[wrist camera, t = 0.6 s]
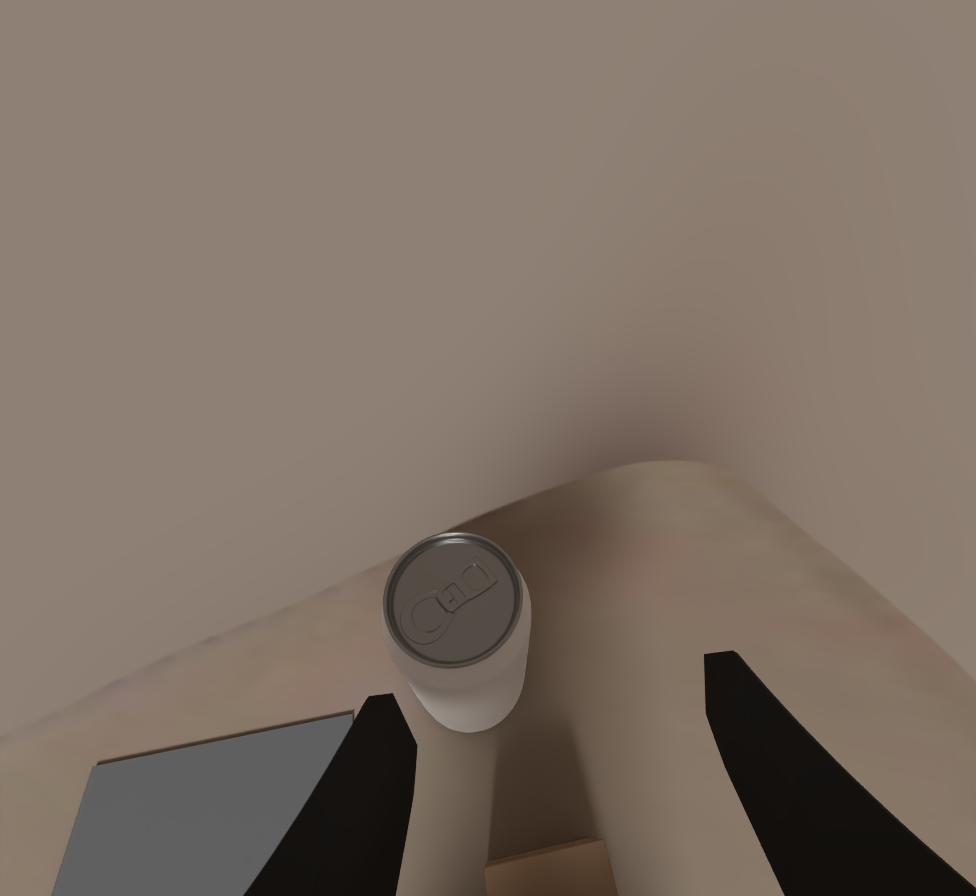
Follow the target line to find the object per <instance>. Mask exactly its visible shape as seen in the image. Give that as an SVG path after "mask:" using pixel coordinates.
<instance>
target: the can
mask: <svg viewBox="0 0 976 896" xmlns="http://www.w3.org/2000/svg"><path fill="white" fill-rule="evenodd" d="M381 623H382V632H383V636H384V640H385V644H386V647H387V649H388V651H389V653H390V655H391V657H392V659H393V661H394V663H395V664H396V666H397V667H398V669H399V671H400V672H401V674H402V675H403V677H404V678H405V680H406V681H407V683H408V684H409V685H410V687H411V688H412V690H413V691H414V693H415V694H416V696H417V697H418V699H419V700H420V701H421V703H422V704H423V706H424V707H425V708H426V710H427V711H428V712H429V713H430V714H431V715H432V716H433V717H434V718H435V719H436V720H437V721H438V722H439V723H441V724H442V725H444V726H445V727H447V728H449V729H452V730H455V731H458V732H466V733H472V732H479V731H483V730H486V729H489V728H491V727H493V726H495V725H496V724H498V723H499V722H501V721H502V720H503V719H504V718H505V717H506V716H507V715H508V714H509V713H510V712H511V711H512V709H513V708H514V706H515V705H516V703H517V701H518V699H519V697H520V694H521V691H522V688H523V683H524V678H525V671H526V663H527V655H528V647H529V638H530V629H531V602H530V596H529V592H528V588H527V585H526V583H525V581H524V579H523V577H522V575H521V573H520V572H519V570H518V569H517V567H516V565H515V563H514V562H513V560H512V559H511V557H510V556H509V555H508V554H507V553H506V551H505V550H504V549H502V548H501V547H500V546H499V545H498V544H496V543H495V542H493V541H492V540H490V539H488V538H486V537H484V536H481V535H478V534H475V533H470V532H462V531H453V532H445V533H440V534H436V535H433V536H431V537H428V538H426V539H424V540H422V541H420V542H419V543H417V544H416V545H414V546H413V547H411V548H410V549H409V550H408V551H407V552H406V553H405V554H404V555H403V556H402V557H401V558H400V559H399V560H398V562H397V563H396V564H395V566H394V568H393V569H392V571H391V573H390V575H389V577H388V580H387V583H386V586H385V590H384V596H383V606H382V615H381Z"/></svg>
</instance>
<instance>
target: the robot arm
mask: <svg viewBox="0 0 976 896" xmlns="http://www.w3.org/2000/svg"><path fill="white" fill-rule="evenodd" d="M704 670H705V702H706V716H707V718H708V721H709V724H710V727H711V730H712V733H713V735H714V738H715V741H716V744H717V747H718V749H719V752H720V755H721V757H722V760H723V763H724V766H725V768H726V770H727V772H728V775H729V777H730V779H731V781H732V783H733V786H734V788H735V790H736V792H737V794H738V796H739V799H740V801H741V803H742V805H743V807H744V809H745V812H746V814H747V816H748V818H749V820H750V822H751V824H752V827H753V829H754V831H755V833H756V835H757V837H758V839H759V842H760V844H761V846H762V848H763V850H764V852H765V854H766V857H767V859H768V861H769V863H770V865H771V867H772V870H773V872H774V874H775V876H776V878H777V880H778V882H779V885H780V887H781V889H782V891H783V893H784V895H785V896H976V888H975V887H974V886H973V885H972V884H971V883H969V882H968V881H967V880H966V879H965V878H964V877H962V876H961V875H960V874H959V873H958V872H957V871H955V870H954V869H953V868H952V867H951V866H950V865H949V864H947V863H946V862H945V861H944V860H943V859H942V858H940V857H939V856H938V855H937V854H936V853H935V852H934V851H932V850H931V849H930V848H929V847H928V846H927V845H926V844H924V843H923V842H922V841H921V840H920V839H919V838H918V837H917V836H916V835H914V834H913V833H912V832H911V831H910V830H909V829H908V828H907V827H906V826H904V825H903V824H902V823H901V822H900V821H899V820H898V819H897V818H896V817H895V816H894V815H892V814H891V813H890V812H889V811H888V810H887V809H886V808H885V807H884V806H883V805H882V804H881V803H880V802H879V801H878V800H876V799H875V798H874V797H873V796H872V795H871V794H870V793H869V792H868V791H867V790H866V789H865V788H864V787H863V786H862V785H861V784H860V783H859V782H858V781H856V780H855V779H854V778H853V777H852V776H851V775H850V774H849V773H848V772H847V771H846V770H845V769H844V768H843V767H842V766H841V765H840V764H839V763H838V762H837V761H836V760H835V759H834V758H833V757H832V756H831V755H830V754H829V753H828V752H827V751H826V750H825V749H824V748H823V747H822V746H821V745H820V744H819V743H818V742H817V741H816V739H815V738H814V737H813V736H812V735H811V734H810V733H809V732H808V731H807V730H806V729H805V728H804V727H803V726H802V725H801V724H800V723H799V722H798V721H797V720H796V719H795V718H794V717H793V716H792V714H791V713H790V712H789V711H788V710H787V709H786V708H785V707H784V706H783V705H782V704H781V703H780V701H779V700H778V699H777V698H776V697H775V696H774V695H773V694H772V693H771V692H770V690H769V689H768V688H767V687H766V686H765V685H764V684H763V682H762V681H761V680H760V679H759V678H758V677H757V676H756V674H755V673H754V672H753V671H752V670H751V669H750V667H749V666H748V665H747V664H746V663H745V661H744V660H743V659H742V658H741V657H740V655H739V654H738V653H736V652H735V651H725V652H717V653H709V654H704ZM416 759H417V743H416V741H415V739H414V737H413V735H412V733H411V731H410V729H409V727H408V724H407V722H406V720H405V718H404V716H403V714H402V712H401V710H400V707H399V705H398V703H397V701H396V699H395V697H394V695H393V693H391V694H383V695H375V696H369V697H368V698H367V699H366V701H365V703H364V704H363V706H362V708H361V710H360V711H359V713H358V715H357V717H356V718H355V720H354V722H353V724H352V725H351V727H350V729H349V731H348V732H347V734H346V736H345V738H344V739H343V741H342V743H341V745H340V746H339V748H338V750H337V751H336V753H335V755H334V757H333V758H332V760H331V762H330V763H329V765H328V767H327V768H326V770H325V772H324V773H323V775H322V777H321V778H320V780H319V782H318V783H317V785H316V786H315V788H314V790H313V791H312V793H311V795H310V796H309V798H308V800H307V801H306V803H305V804H304V806H303V808H302V809H301V811H300V812H299V814H298V815H297V817H296V818H295V820H294V822H293V823H292V825H291V826H290V828H289V829H288V831H287V832H286V834H285V835H284V837H283V838H282V840H281V841H280V843H279V844H278V846H277V847H276V849H275V851H274V852H273V854H272V855H271V857H270V858H269V859H268V861H267V862H266V864H265V865H264V867H263V868H262V870H261V871H260V872H259V874H258V875H257V877H256V878H255V880H254V881H253V882H252V884H251V885H250V887H249V888H248V889H247V891H246V892H245V894H244V895H243V896H396V891H397V885H398V880H399V874H400V869H401V863H402V858H403V852H404V847H405V841H406V836H407V830H408V825H409V819H410V813H411V808H412V802H413V795H414V784H415V773H416Z"/></svg>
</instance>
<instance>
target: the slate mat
mask: <svg viewBox="0 0 976 896" xmlns="http://www.w3.org/2000/svg"><path fill="white" fill-rule="evenodd" d="M352 724H353V714H348V715H343V716H338V717H333V718H328V719H323V720H318V721H314V722H309V723H304V724H299V725H294V726H289V727H284V728H279V729H274V730H269V731H264V732H260V733H255V734H250V735H245V736H240V737H235V738H230V739H225V740H220V741H215V742H210V743H206V744H201V745H196V746H191V747H186V748H181V749H176V750H171V751H166V752H161V753H156V754H152V755H147V756H142V757H137V758H132V759H127V760H122V761H117V762H112V763H107V764H102V765H98V766H93V767H92V770H91V773H90V776H89V779H88V782H87V785H86V789H85V792H84V795H83V798H82V801H81V804H80V807H79V811H78V814H77V817H76V820H75V823H74V826H73V829H72V832H71V836H70V839H69V842H68V845H67V848H66V851H65V854H64V857H63V861H62V864H61V867H60V870H59V873H58V876H57V879H56V882H55V886H54V889H53V892H52V895H51V896H243V895H244V894H245V892H246V891H247V889H248V888H249V887H250V885H251V884H252V882H253V881H254V880H255V878H256V877H257V875H258V874H259V872H260V871H261V870H262V868H263V867H264V865H265V864H266V862H267V861H268V859H269V858H270V857H271V855H272V854H273V852H274V851H275V849H276V847H277V846H278V844H279V843H280V841H281V840H282V838H283V837H284V835H285V834H286V832H287V831H288V829H289V828H290V826H291V825H292V823H293V822H294V820H295V818H296V817H297V815H298V814H299V812H300V811H301V809H302V808H303V806H304V804H305V803H306V801H307V800H308V798H309V796H310V795H311V793H312V791H313V790H314V788H315V786H316V785H317V783H318V782H319V780H320V778H321V777H322V775H323V773H324V772H325V770H326V768H327V767H328V765H329V763H330V762H331V760H332V758H333V757H334V755H335V753H336V751H337V750H338V748H339V746H340V745H341V743H342V741H343V739H344V738H345V736H346V734H347V732H348V731H349V729H350V727H351V725H352Z"/></svg>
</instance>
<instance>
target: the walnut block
mask: <svg viewBox="0 0 976 896" xmlns="http://www.w3.org/2000/svg"><path fill="white" fill-rule="evenodd" d="M483 869H484V877H485V885H486V893H487V896H618V893H617V889H616V885H615V881H614V877H613V874H612V870H611V866H610V862H609V858H608V854H607V851H606V847H605V843H604V840H603V839H594V838H584V839H579V840H575V841H571V842H567V843H563V844H558V845H554V846H550V847H546V848H542V849H538V850H533V851H529V852H525V853H521V854H517V855H512V856H508V857H504V858H500V859H496V860H491V861H487V863H486V865H485V867H484V868H483Z"/></svg>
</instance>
